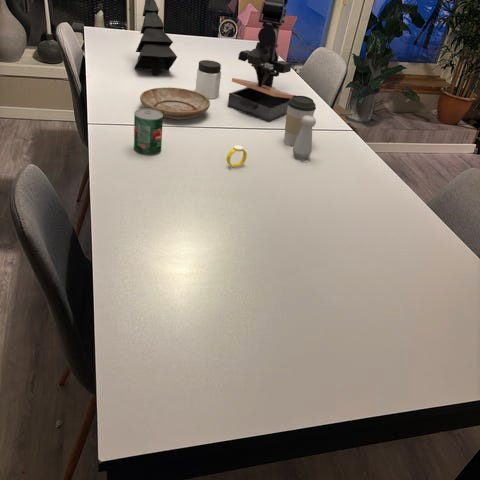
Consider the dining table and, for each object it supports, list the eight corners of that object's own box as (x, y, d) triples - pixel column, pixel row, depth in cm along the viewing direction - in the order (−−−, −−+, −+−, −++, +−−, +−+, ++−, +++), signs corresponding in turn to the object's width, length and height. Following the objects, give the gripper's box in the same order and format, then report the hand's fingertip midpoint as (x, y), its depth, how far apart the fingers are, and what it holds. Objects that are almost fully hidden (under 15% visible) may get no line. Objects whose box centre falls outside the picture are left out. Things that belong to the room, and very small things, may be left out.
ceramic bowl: (171, 95, 186) (171, 82, 183) (222, 115, 176) (223, 101, 173) (125, 109, 169) (125, 94, 166) (178, 131, 160) (179, 116, 157)
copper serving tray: (253, 84, 192) (254, 81, 192) (293, 98, 185) (295, 95, 184) (231, 81, 179) (232, 77, 178) (273, 96, 172) (275, 92, 171)
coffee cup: (310, 141, 167) (320, 97, 159) (304, 151, 160) (314, 105, 151) (284, 134, 169) (292, 90, 160) (277, 144, 162) (285, 98, 153)
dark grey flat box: (251, 97, 195) (253, 85, 192) (291, 112, 188) (293, 99, 185) (224, 107, 183) (226, 94, 180) (266, 123, 175) (268, 109, 172)
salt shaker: (290, 152, 158) (298, 112, 150) (307, 153, 159) (316, 114, 151) (293, 160, 153) (301, 119, 146) (311, 162, 154) (321, 121, 147)
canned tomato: (163, 156, 144) (165, 119, 138) (135, 156, 141) (136, 119, 135) (158, 144, 150) (160, 108, 144) (132, 144, 148) (132, 108, 141)
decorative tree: (170, 79, 211) (162, -5, 210) (178, 67, 197) (170, -23, 196) (134, 78, 205) (126, -8, 205) (141, 66, 192) (132, -26, 191)
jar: (222, 98, 191) (226, 66, 184) (205, 100, 186) (208, 67, 179) (208, 90, 196) (211, 58, 189) (191, 92, 191) (193, 60, 184)
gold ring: (240, 163, 147) (244, 144, 144) (246, 167, 146) (250, 148, 142) (223, 165, 144) (227, 145, 141) (229, 169, 142) (232, 149, 139)
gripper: (232, 35, 169) (226, 82, 177) (279, 49, 161) (270, 97, 169) (250, 33, 177) (243, 77, 185) (296, 46, 169) (286, 92, 177)
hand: (260, 86), depth 179 cm, fingers closed, pressing on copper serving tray
